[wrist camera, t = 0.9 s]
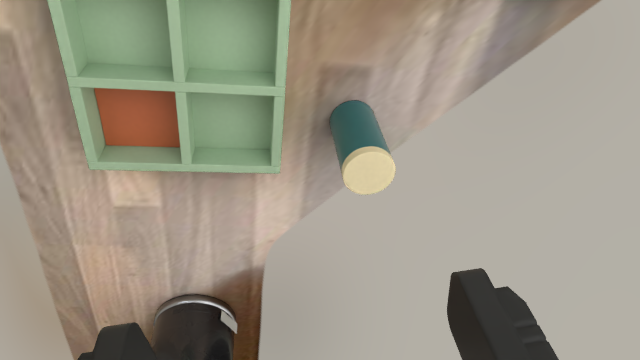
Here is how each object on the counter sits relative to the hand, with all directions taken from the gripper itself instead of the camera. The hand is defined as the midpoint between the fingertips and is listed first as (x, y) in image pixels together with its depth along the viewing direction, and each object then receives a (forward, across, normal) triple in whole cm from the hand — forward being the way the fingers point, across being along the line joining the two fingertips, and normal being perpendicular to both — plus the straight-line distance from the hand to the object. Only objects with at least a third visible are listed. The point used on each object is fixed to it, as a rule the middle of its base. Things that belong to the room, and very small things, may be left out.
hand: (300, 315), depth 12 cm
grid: (+27, -8, -4) cm, 29 cm away
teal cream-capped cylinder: (+27, +5, -11) cm, 30 cm away
